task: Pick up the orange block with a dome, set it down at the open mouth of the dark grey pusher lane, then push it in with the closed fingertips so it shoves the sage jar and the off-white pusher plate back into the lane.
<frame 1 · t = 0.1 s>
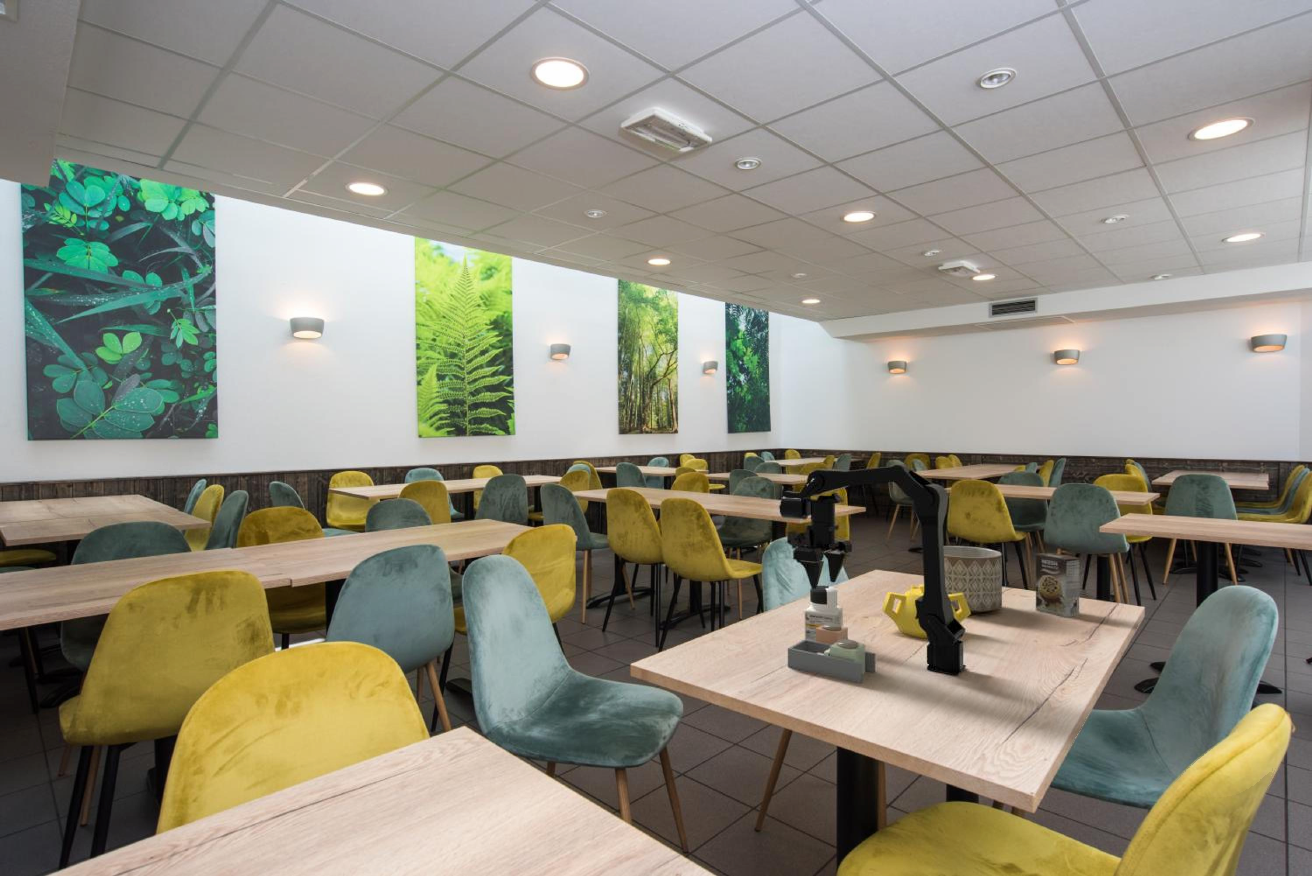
hand: (823, 585, 163), 14 cm above the table, fingers open, 9 cm apart
pusher: (825, 657, 147), point 2 cm above the table, slide at 0.0 cm
lane: (832, 669, 146), on the table
orange block with dome: (831, 653, 157), on the table
planter: (964, 608, 196), on the table
container: (824, 640, 167), on the table
sage jar: (847, 673, 144), resting in lane
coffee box: (1057, 613, 190), on the table
teapot: (925, 632, 173), on the table
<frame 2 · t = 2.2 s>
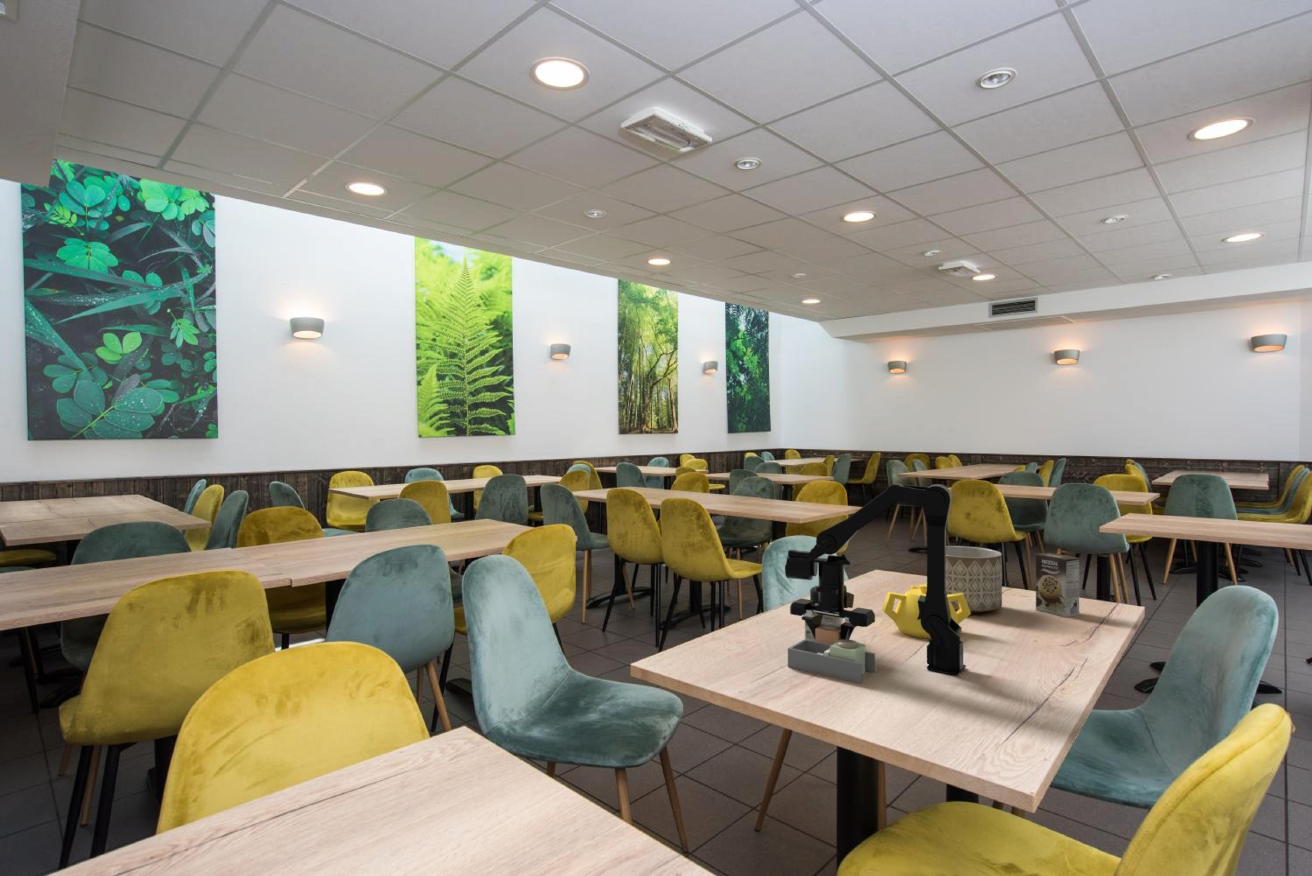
hand: (831, 649, 157), 1 cm above the table, fingers closed on orange block with dome, 5 cm apart
orange block with dome: (831, 653, 157), on the table, touching gripper
everything else where it was.
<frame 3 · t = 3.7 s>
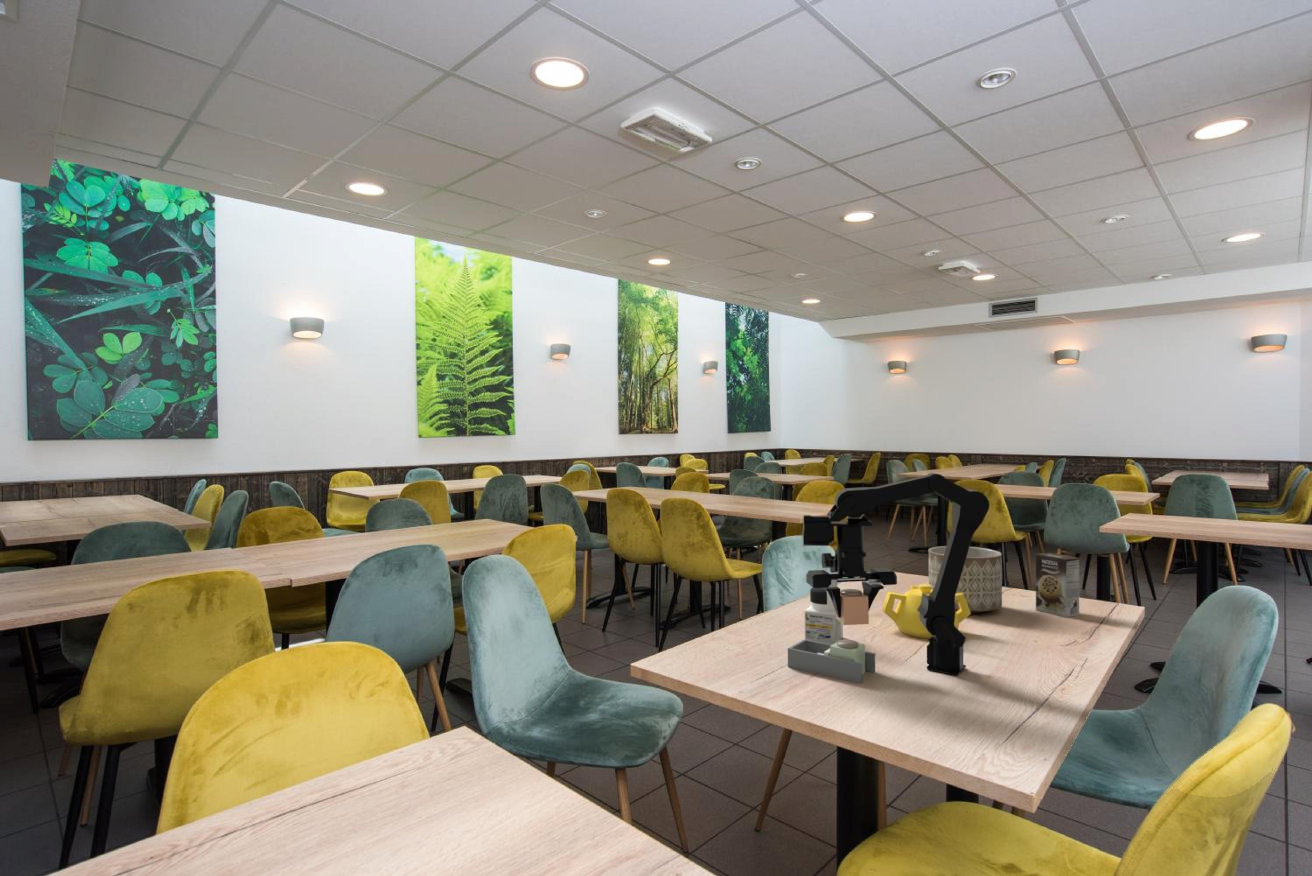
hand: (851, 616, 149), 11 cm above the table, fingers closed on orange block with dome, 5 cm apart
orange block with dome: (851, 621, 149), point 10 cm above the table, touching gripper
everything else where it was.
when the fingers open (2 cm above the table, at t = 5.6 s): orange block with dome drops 2 cm, on the table.
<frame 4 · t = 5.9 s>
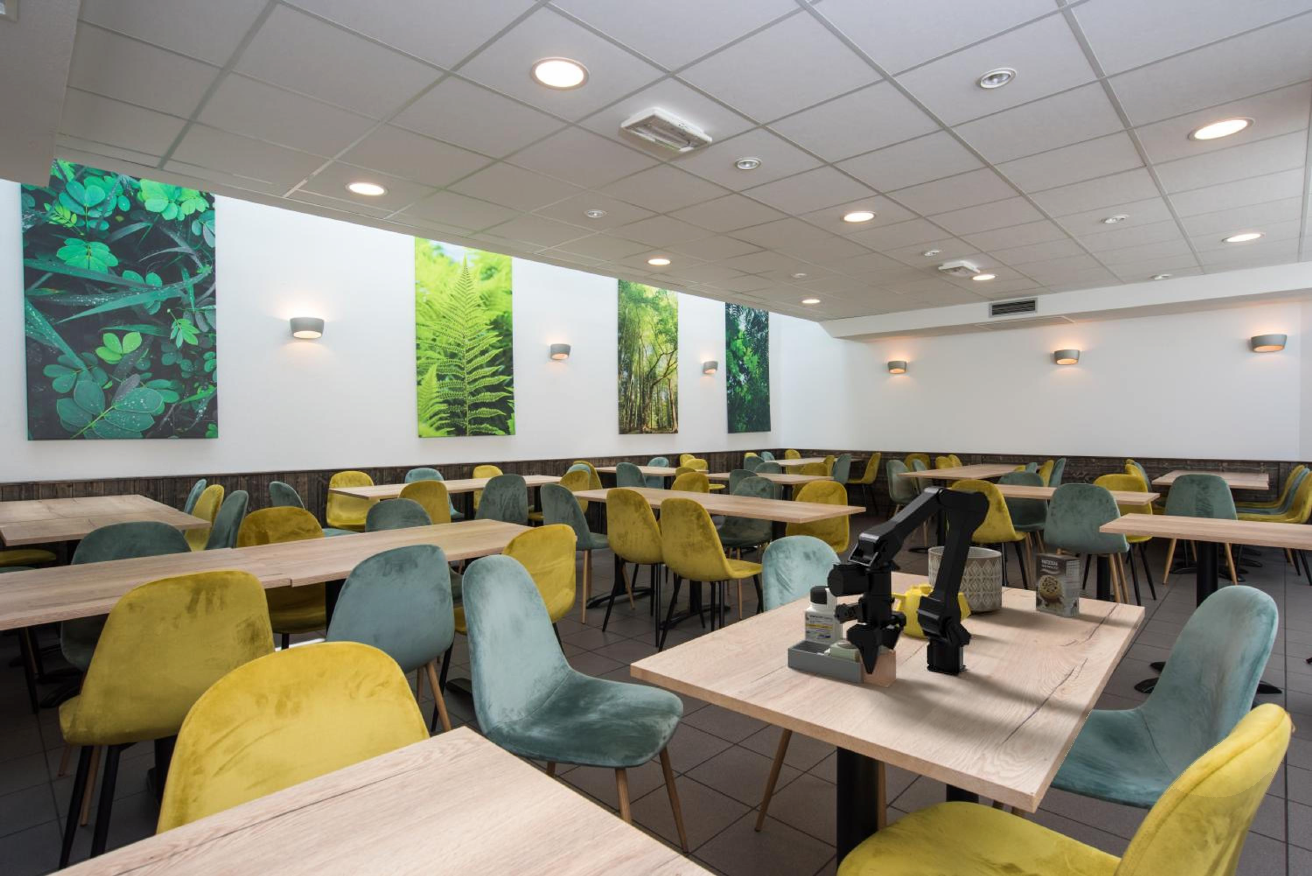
hand: (877, 667, 140), 2 cm above the table, fingers open, 9 cm apart
orange block with dome: (878, 680, 140), on the table
everything else where it was.
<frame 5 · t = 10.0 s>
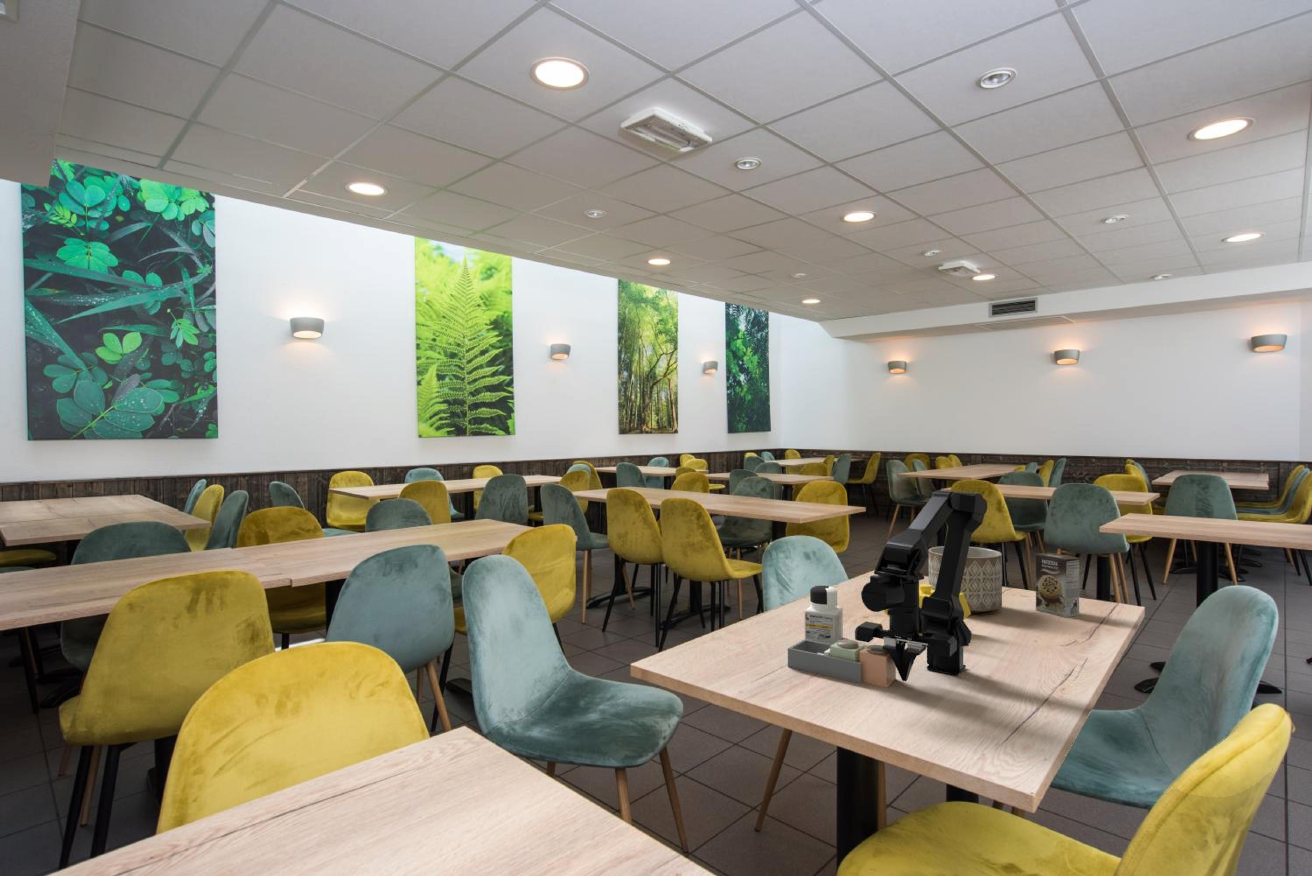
hand: (904, 680, 136), 1 cm above the table, fingers closed
orange block with dome: (878, 680, 140), on the table, touching gripper
everything else where it was.
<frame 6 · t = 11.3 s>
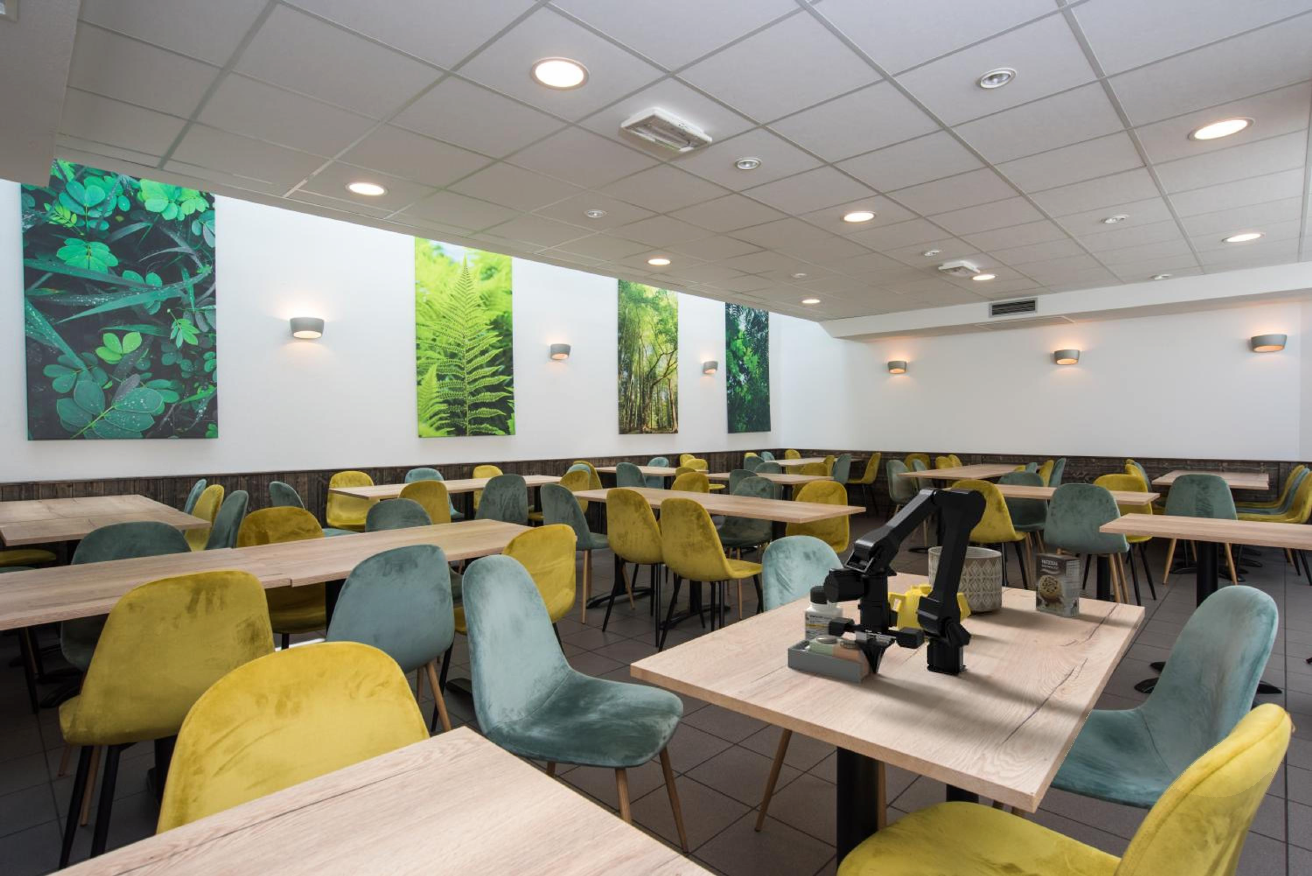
hand: (875, 673, 140), 1 cm above the table, fingers closed
pusher: (806, 653, 150), point 2 cm above the table, slide at 4.4 cm, touching sage jar
orange block with dome: (851, 673, 143), on the table, touching gripper, sage jar
sage jar: (827, 668, 147), resting in lane, touching pusher, orange block with dome
everything else where it was.
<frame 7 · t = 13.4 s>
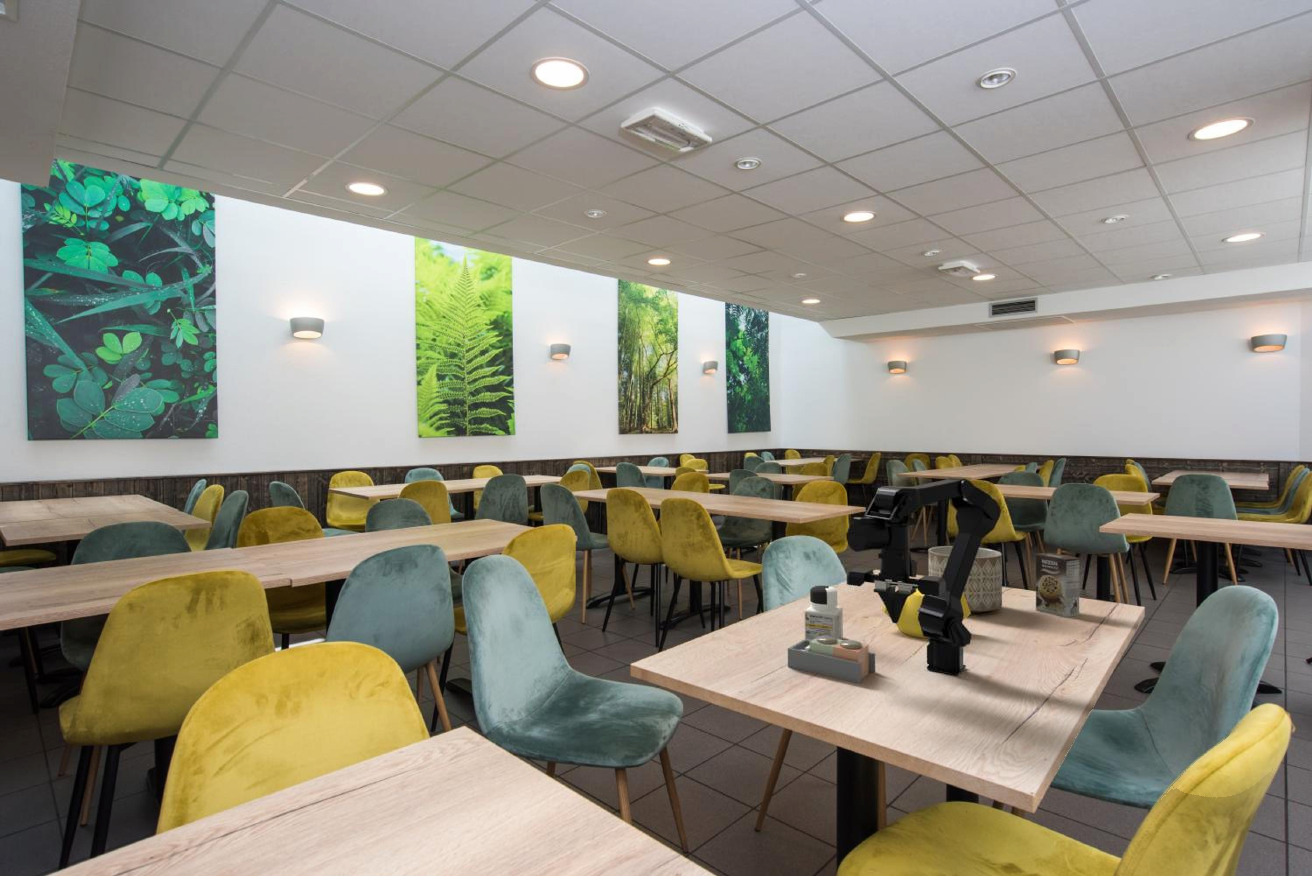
hand: (895, 622, 139), 12 cm above the table, fingers closed
pusher: (806, 653, 150), point 2 cm above the table, slide at 4.4 cm
orange block with dome: (851, 674, 143), on the table, touching sage jar
sage jar: (827, 668, 147), resting in lane, touching orange block with dome
everything else where it was.
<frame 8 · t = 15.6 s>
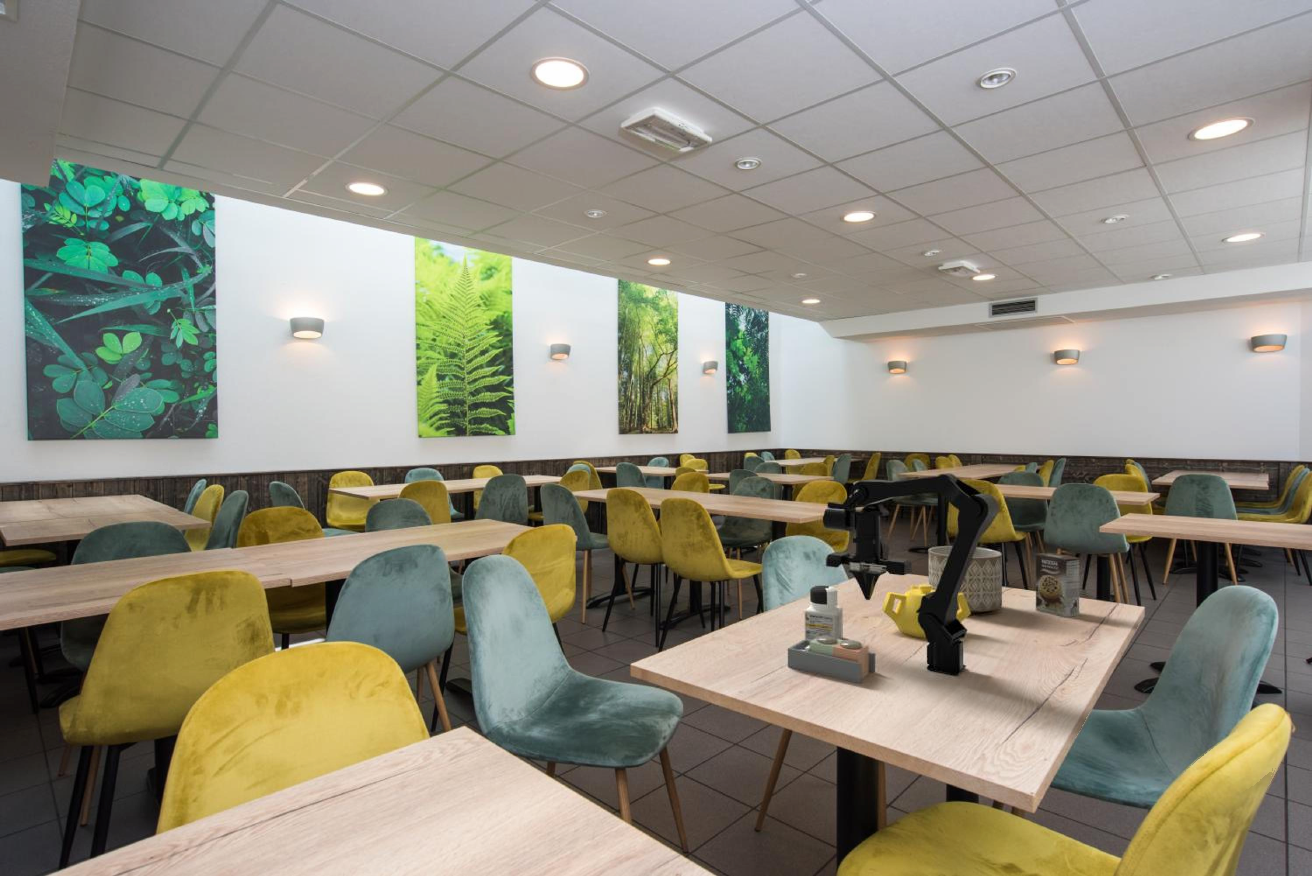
hand: (868, 599, 158), 12 cm above the table, fingers closed
orange block with dome: (851, 674, 143), on the table
sage jar: (827, 668, 147), resting in lane
everything else where it was.
at the end: orange block with dome 0.1 cm from the target spot, on the table; pusher slide at 4.4 cm; orange block with dome tilted 0° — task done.
